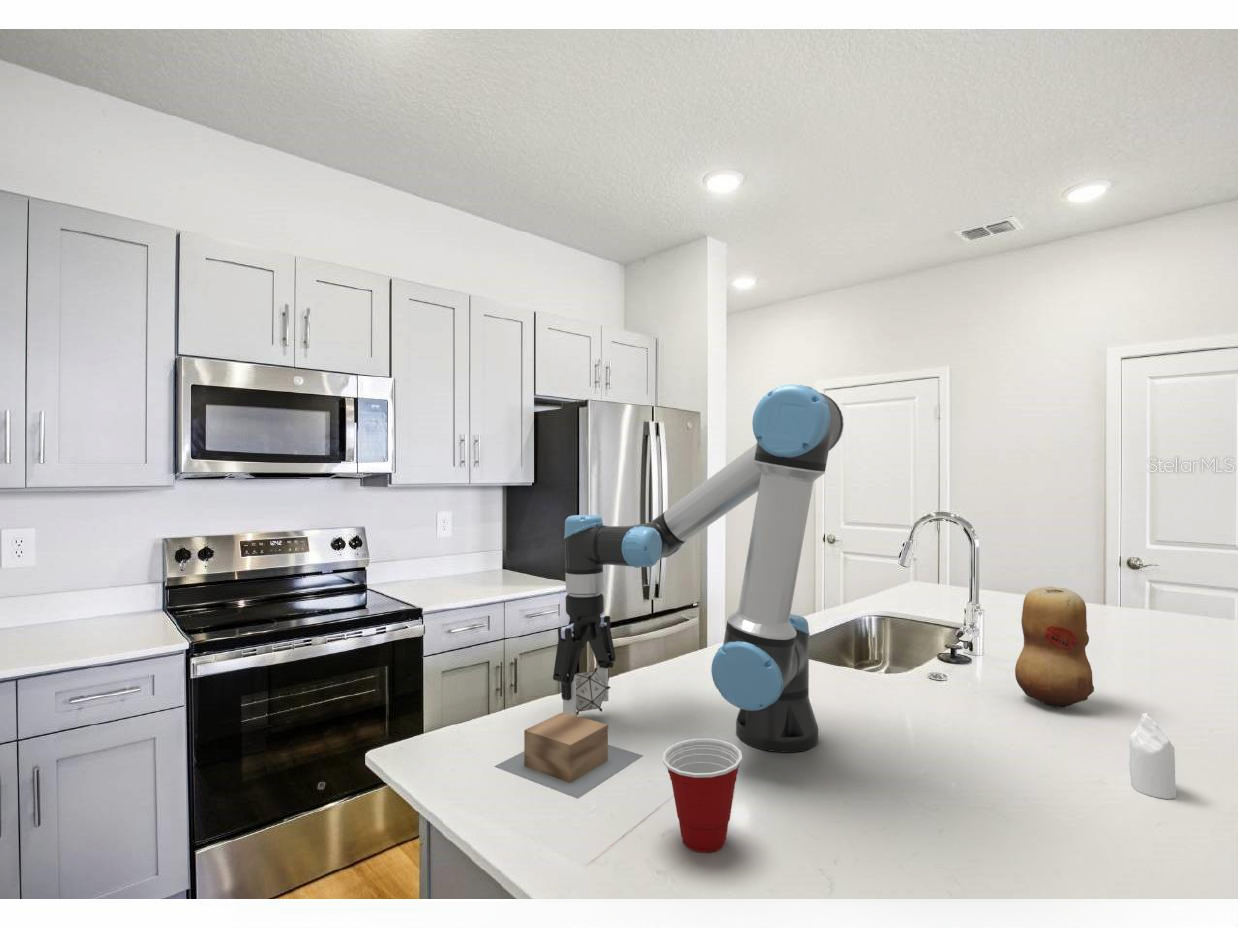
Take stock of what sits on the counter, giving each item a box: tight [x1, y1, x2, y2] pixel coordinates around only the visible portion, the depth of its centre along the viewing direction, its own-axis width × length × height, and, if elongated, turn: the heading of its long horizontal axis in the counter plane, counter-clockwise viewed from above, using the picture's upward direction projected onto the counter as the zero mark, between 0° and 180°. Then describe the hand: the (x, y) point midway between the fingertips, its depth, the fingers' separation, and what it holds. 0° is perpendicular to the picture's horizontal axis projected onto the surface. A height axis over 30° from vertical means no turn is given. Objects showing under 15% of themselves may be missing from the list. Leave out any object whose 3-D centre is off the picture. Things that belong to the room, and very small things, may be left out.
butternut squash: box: [1014, 586, 1095, 709], centre depth 139 cm, size 14×13×25 cm
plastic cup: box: [662, 737, 743, 854], centre depth 88 cm, size 11×11×12 cm
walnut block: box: [523, 711, 609, 783], centre depth 110 cm, size 10×10×6 cm
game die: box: [573, 666, 611, 716], centre depth 128 cm, size 9×8×10 cm
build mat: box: [494, 744, 644, 799], centre depth 111 cm, size 18×18×1 cm
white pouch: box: [1128, 712, 1177, 800], centre depth 103 cm, size 6×12×6 cm
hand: (586, 707), depth 128 cm, fingers closed on game die, 9 cm apart
